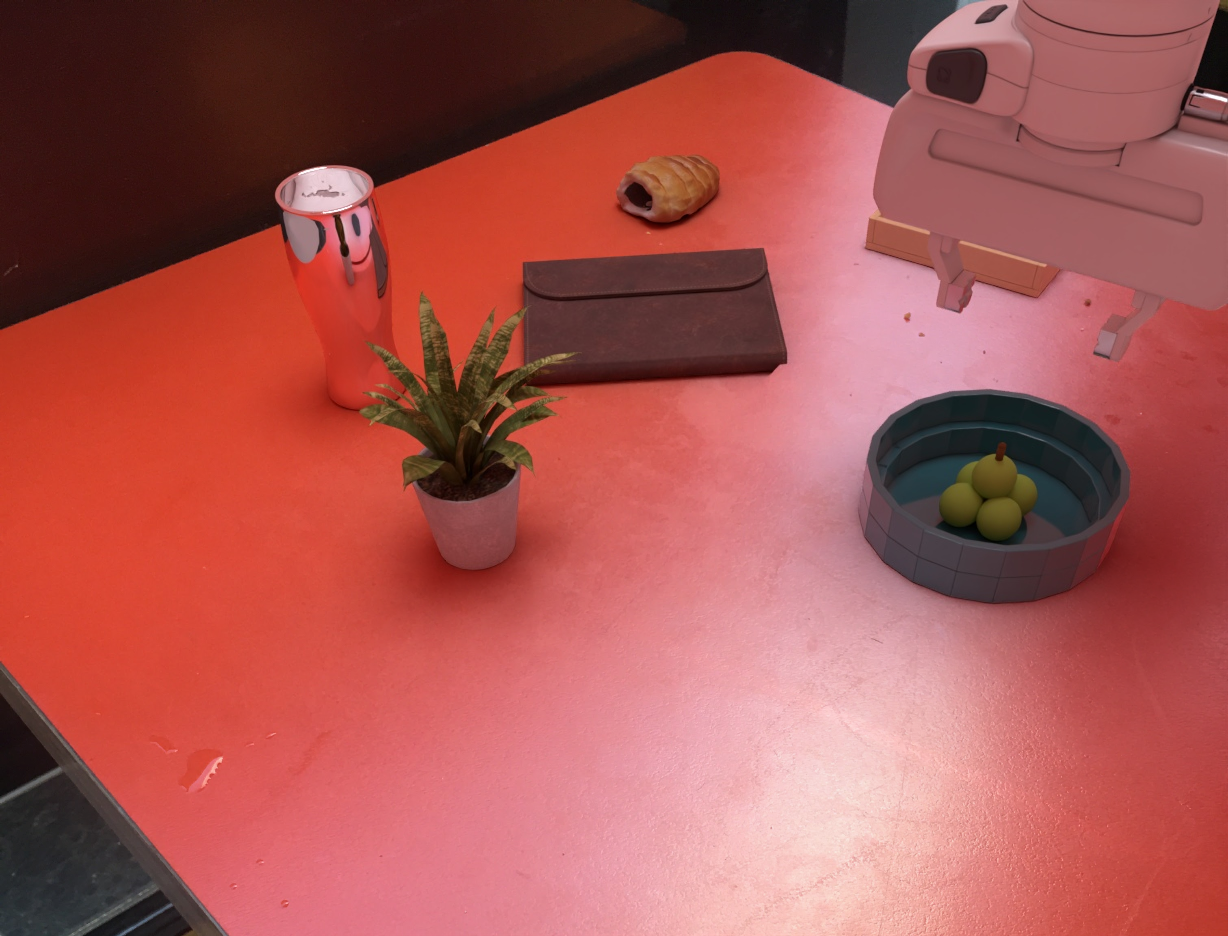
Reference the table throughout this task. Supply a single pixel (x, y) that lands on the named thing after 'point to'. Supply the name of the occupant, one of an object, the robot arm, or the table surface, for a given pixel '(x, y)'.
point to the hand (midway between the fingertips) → (1029, 329)
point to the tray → (974, 257)
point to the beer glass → (342, 276)
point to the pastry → (668, 187)
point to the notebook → (652, 316)
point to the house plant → (466, 438)
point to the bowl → (961, 556)
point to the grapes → (989, 496)
